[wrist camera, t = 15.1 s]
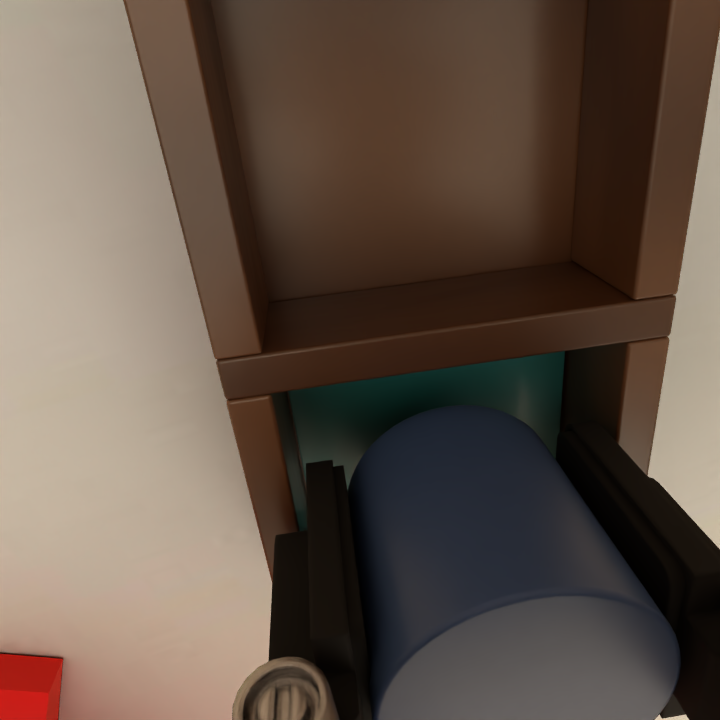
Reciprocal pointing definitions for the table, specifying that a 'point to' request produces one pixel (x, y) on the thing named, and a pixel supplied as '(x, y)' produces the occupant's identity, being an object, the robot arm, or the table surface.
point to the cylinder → (496, 582)
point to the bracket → (29, 687)
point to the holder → (428, 211)
